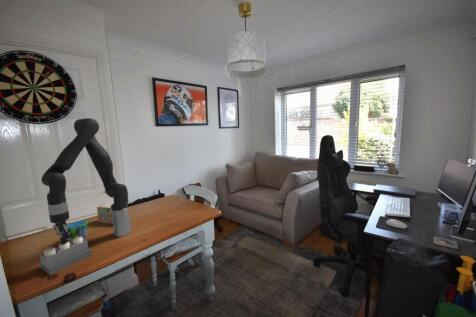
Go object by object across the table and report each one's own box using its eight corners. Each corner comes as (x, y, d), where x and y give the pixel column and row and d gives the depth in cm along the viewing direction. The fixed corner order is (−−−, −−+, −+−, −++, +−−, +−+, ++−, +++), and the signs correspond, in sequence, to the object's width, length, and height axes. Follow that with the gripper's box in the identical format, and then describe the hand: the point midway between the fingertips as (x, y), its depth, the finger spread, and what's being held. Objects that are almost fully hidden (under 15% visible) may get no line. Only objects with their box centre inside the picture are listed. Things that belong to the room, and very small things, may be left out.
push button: (76, 244, 125) (74, 229, 123) (77, 248, 121) (75, 232, 120) (62, 249, 120) (59, 233, 119) (62, 253, 117) (60, 236, 115)
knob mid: (68, 251, 112) (67, 240, 111) (72, 253, 110) (70, 242, 109) (59, 255, 108) (57, 244, 107) (62, 257, 106) (60, 246, 105)
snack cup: (75, 234, 138) (73, 219, 136) (93, 232, 140) (91, 217, 139) (62, 247, 123) (59, 231, 121) (83, 244, 125) (80, 228, 124)
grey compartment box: (81, 249, 120) (79, 236, 119) (91, 254, 114) (89, 241, 113) (39, 267, 105) (37, 253, 104) (49, 275, 99) (47, 260, 98)
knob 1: (54, 257, 107) (52, 246, 106) (58, 259, 105) (56, 248, 104) (44, 262, 103) (42, 250, 102) (47, 264, 101) (45, 252, 100)
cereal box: (129, 221, 156) (127, 205, 154) (122, 224, 150) (120, 208, 148) (105, 218, 161) (103, 203, 160) (98, 222, 155) (96, 206, 154)
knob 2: (81, 245, 117) (80, 235, 116) (85, 247, 115) (83, 237, 114) (72, 249, 113) (71, 238, 113) (76, 251, 111) (74, 240, 110)
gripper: (73, 211, 106) (78, 243, 108) (62, 206, 112) (66, 237, 115) (55, 216, 99) (60, 250, 102) (43, 211, 106) (49, 243, 108)
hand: (64, 243), depth 108 cm, fingers closed
